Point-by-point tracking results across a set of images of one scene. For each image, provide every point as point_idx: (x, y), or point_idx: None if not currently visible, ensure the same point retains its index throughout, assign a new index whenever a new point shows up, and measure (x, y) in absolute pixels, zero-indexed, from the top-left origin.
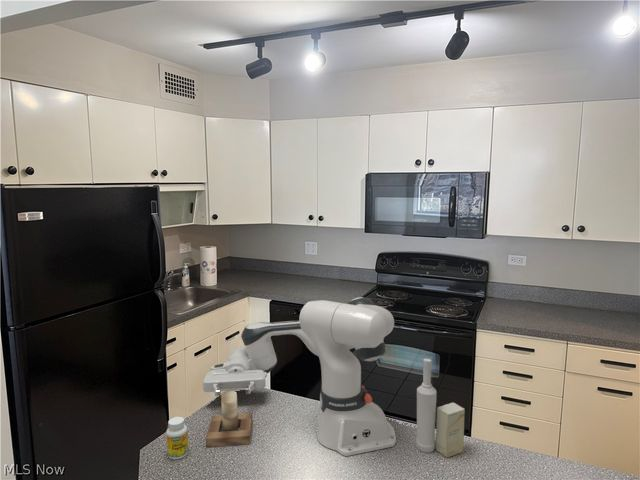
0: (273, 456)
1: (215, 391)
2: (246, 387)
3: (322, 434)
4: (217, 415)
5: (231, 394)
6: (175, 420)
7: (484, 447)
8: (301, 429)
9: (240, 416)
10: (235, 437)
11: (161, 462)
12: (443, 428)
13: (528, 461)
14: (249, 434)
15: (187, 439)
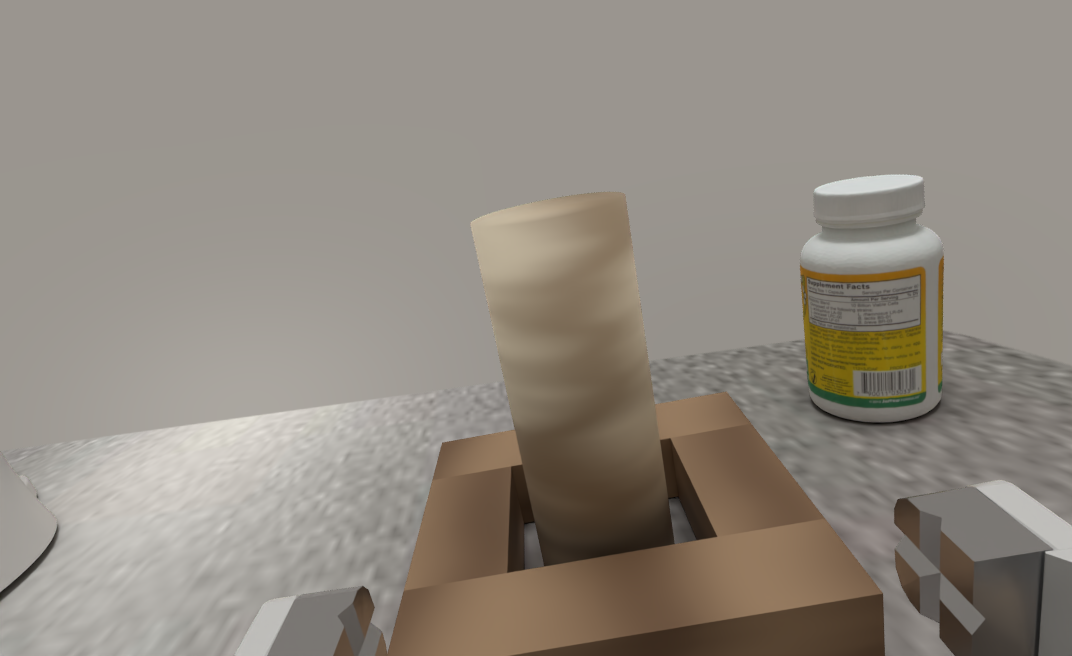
0: (344, 453)
1: (983, 483)
2: (326, 627)
3: (17, 497)
4: (812, 601)
5: (521, 211)
6: (872, 183)
7: None
8: (34, 652)
9: (520, 607)
10: None
11: None
12: None
13: None
14: (442, 450)
15: (807, 323)
